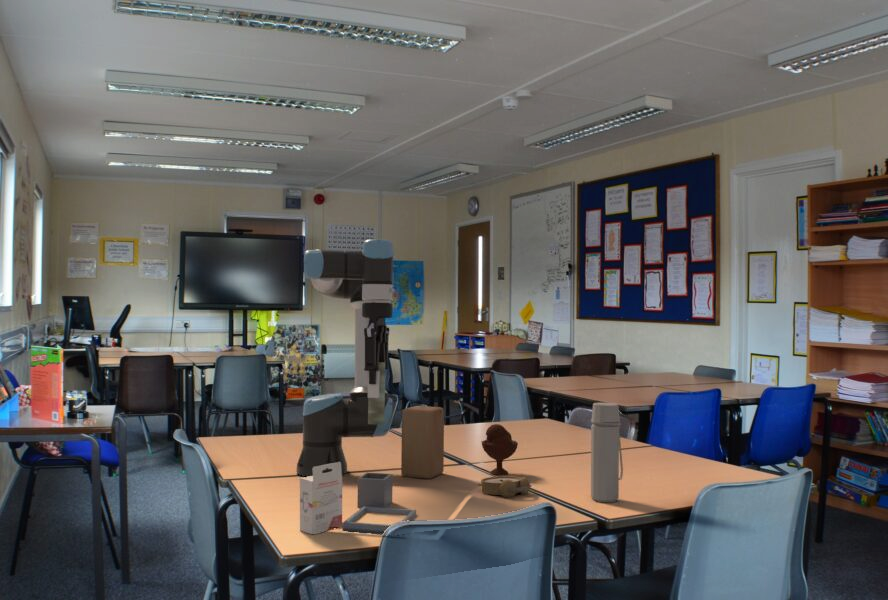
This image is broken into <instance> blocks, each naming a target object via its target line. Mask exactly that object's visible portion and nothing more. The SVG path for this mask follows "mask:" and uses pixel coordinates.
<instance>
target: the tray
mask: <svg viewBox="0 0 888 600" xmlns="http://www.w3.org/2000/svg"><path fill="white" fill-rule="evenodd" d="M365 513H375V514H378V513H379V514H389V515H390V514H391V515H403V516H405V517H404V518H403V519H402V520H401V521H407V520H410V521H412V520H413V518H414V517H415V516H416V515H417V509H407V508H393V507H392V508H389V507H386V508H379V507H365V506H363V507H362V508H359V509H358V510H357V511H355V512H354V513H353V514H351V516H350V517H348V518H346V519H345V520H344V521H342V532H343V531H348V532H347V533H354V532H359V533H358V534H367V533H371V534H370V535H382V534H383V533H384V531H385V530H386V529H387V528H388V527H389V526H391V525H392V524H381V523H369V522H356V520H358V519H359V518H360V517H361V516H362V515H364V514H365ZM382 536H383V535H382Z"/></svg>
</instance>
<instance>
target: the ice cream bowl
mask: <svg viewBox="0 0 888 600" xmlns="http://www.w3.org/2000/svg"><path fill="white" fill-rule="evenodd" d="M485 434H486V438H485V440H484V439H483V441H482V440H481V447H482V449H483V451H484V452H485V453H486V454H487V456H488V457H490V459H494V461H495V462H496V467H495V468H494V469H492V470H490V472H489V473H490V475H491V476H492V475H493V476H507V475H509V472H508V470H506V469H505V468H503V461H504V460H506V459H509V458H510V457H511V456H513V455H514V454H515V453H516V450H517V449H518V446H519V445H518V444H519V442H518V441H516V440H513V439H512V434H511V432H509V431H508V430H507V429H506V427H504V426H503V425H502V424H497V423H494V424H491V425H490V426H489V427H488V428H487V429H486V431H485Z"/></svg>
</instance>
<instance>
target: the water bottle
mask: <svg viewBox="0 0 888 600" xmlns="http://www.w3.org/2000/svg"><path fill="white" fill-rule="evenodd" d="M619 408H620V407H619V404H618V403H614V402H594V403H592V410H591V411H592V413H591V419H590V422H591V423H592V424H591V426H590V427H591V428H590V431H591V432H590V497H591V499H592V500H593V501H595V502H599V503H614V502H616V501H617V500H618V499H619V497H620V496H619V489H620V488H619V485H620V484H619V481H621V480H622V479H623V474H624V466H623V457H622V456H623V455H622V454H623V453H622V444H621V433H620V432H621V431H620V427H621V426H622V423H621V422H620V421H621V419H620V418H621V417H620V409H619ZM619 463H620V465H619ZM619 466H620V467H619ZM619 473H620V474H619Z"/></svg>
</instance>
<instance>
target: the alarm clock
mask: <svg viewBox="0 0 888 600" xmlns="http://www.w3.org/2000/svg"><path fill="white" fill-rule="evenodd" d="M480 482H481V483H478V484H477V486H478V487H481V493H482V494H486V495H496V496H497V495H498V496H502V497H504V498H508V499H510V498H512V497H514V496H515V495H516V494H519V493H520V494H521V495H523V496H524V495H527V494H528V493H529V492H530V490H531V488H532V484H530V480H529V479H528V478H527V477H525V476H522V477H518V476H513V475H512V476H511V475H508V476H507V475H497V476H490V477H489V476H488V477H485V478H481V480H480Z"/></svg>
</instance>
